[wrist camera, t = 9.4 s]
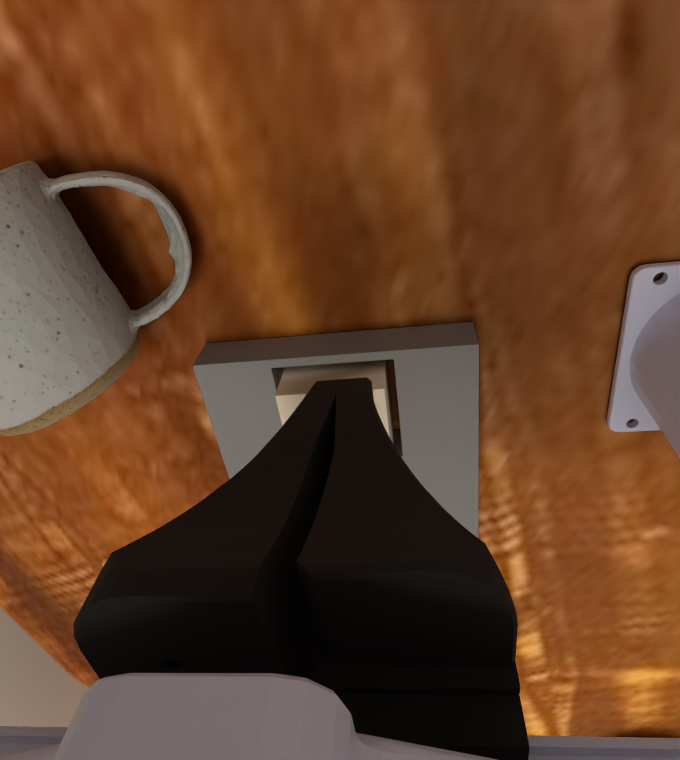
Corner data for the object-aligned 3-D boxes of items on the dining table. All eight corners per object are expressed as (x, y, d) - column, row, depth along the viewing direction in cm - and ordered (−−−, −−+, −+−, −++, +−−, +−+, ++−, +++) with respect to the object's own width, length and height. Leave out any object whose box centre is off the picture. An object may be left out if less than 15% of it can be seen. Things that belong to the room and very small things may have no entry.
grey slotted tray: (472, 321, 23) (478, 344, 21) (473, 645, 35) (477, 675, 34) (206, 343, 25) (192, 365, 23) (297, 644, 37) (293, 673, 36)
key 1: (385, 348, 24) (384, 390, 21) (393, 427, 26) (393, 475, 23) (288, 356, 24) (274, 397, 21) (304, 432, 26) (294, 479, 24)
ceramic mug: (53, 370, 26) (-55, 478, 20) (-74, 216, 22) (-259, 286, 16) (239, 295, 23) (183, 393, 17) (129, 103, 20) (3, 134, 13)
